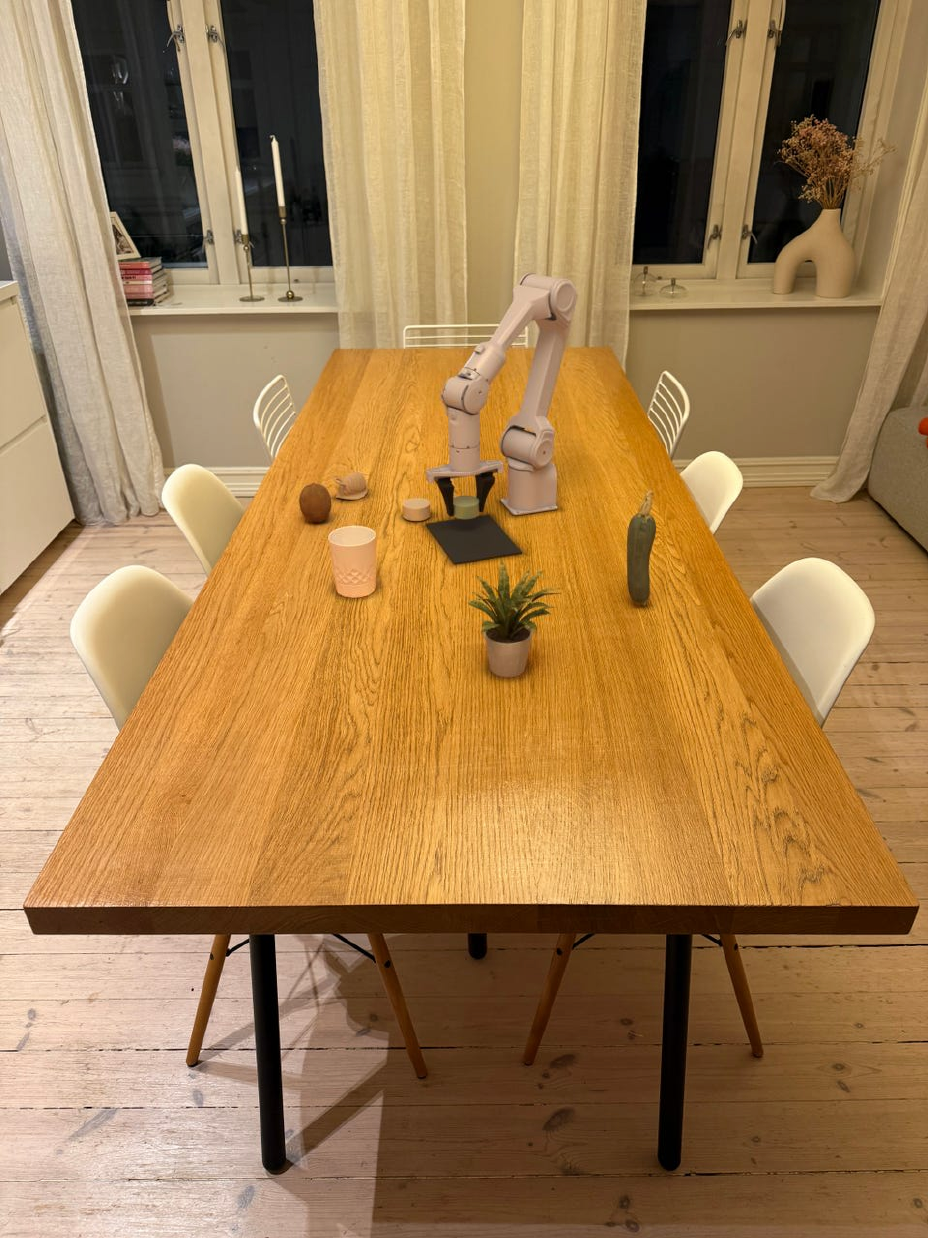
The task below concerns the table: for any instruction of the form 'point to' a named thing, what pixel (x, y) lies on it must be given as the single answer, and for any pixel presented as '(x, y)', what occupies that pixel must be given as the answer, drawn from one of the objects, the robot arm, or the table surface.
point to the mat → (472, 539)
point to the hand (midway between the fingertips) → (465, 512)
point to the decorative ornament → (351, 486)
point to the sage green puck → (465, 507)
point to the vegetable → (640, 551)
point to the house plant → (510, 622)
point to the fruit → (315, 502)
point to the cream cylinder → (416, 509)
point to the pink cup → (353, 560)
